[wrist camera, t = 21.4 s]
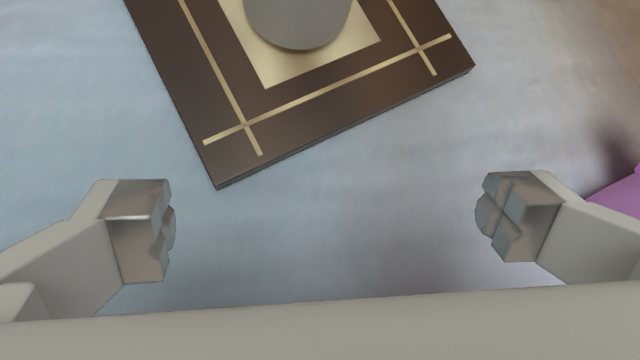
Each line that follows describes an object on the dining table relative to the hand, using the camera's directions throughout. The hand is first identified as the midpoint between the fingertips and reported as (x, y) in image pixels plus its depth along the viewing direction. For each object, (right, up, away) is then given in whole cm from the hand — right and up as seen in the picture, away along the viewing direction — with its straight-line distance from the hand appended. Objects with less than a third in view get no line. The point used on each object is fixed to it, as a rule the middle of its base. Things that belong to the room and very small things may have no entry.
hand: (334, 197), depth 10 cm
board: (-2, +11, +15) cm, 19 cm away
